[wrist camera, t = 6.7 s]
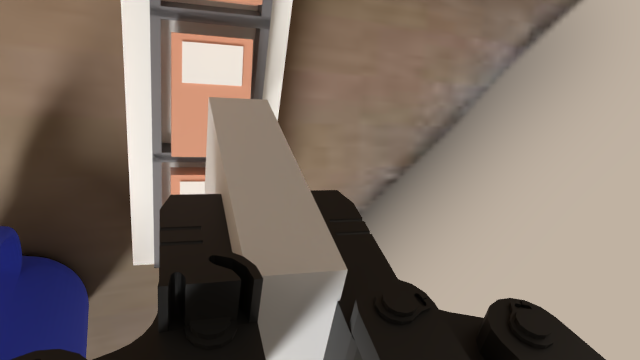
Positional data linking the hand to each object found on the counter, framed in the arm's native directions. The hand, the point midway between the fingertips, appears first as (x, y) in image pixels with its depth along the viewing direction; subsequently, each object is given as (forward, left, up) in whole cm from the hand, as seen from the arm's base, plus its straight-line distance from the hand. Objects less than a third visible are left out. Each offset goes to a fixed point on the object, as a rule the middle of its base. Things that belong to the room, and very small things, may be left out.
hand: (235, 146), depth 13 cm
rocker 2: (+2, 0, -9) cm, 9 cm away
